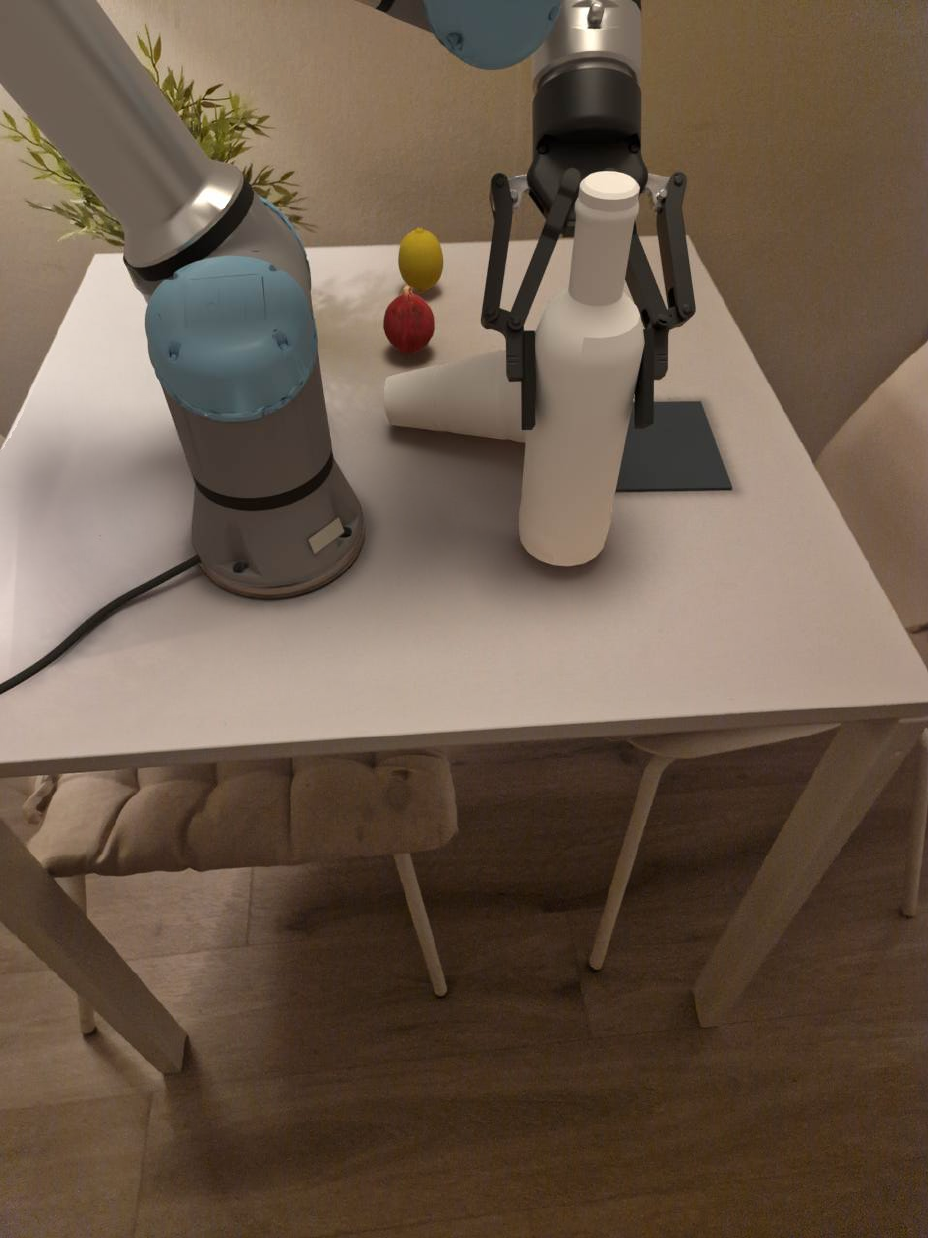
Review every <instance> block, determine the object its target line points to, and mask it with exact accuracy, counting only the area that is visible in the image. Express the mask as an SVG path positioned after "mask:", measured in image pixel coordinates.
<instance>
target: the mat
mask: <svg viewBox="0 0 928 1238" xmlns="http://www.w3.org/2000/svg"><path fill="white" fill-rule="evenodd" d="M634 419H635V401H633V404H632V409H631V414H630V419H629V425H628V430H627V435H626V440H625V445H624V450H623V455H622V460H621V465H620V470H619V475H618V480H617V485H616V490H615V493H616V492H617V493H619V492H622V493H623V492H674V491H675V492H676V491H677V492H678V491H680V492H681V491H727V490H728V491H732V490H733V485H732V482H731V480H730V477H729V474H728V472H727V469H726V466H725V463H724V460H723V457H722V455H721V452H720V449H719V446H718V444H717V441H716V439H715V436H714V433H713V430H712V427H711V425H710V422H709V420H708V417H707V414H706V410H705V408H704V406H703V403H702V401H701V400H683V401H681V400H680V401H679V400H678V401H677V400H676V401H674V400H673V401H654V424H652V425H650V426H648V427H646V428H645V429H634Z"/></svg>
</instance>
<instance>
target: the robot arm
mask: <svg viewBox="0 0 928 1238" xmlns="http://www.w3.org/2000/svg"><path fill="white" fill-rule="evenodd" d="M355 1H356V2H359V3H361V4H363V5H366V6H368V7H370V8H373V9H374V10H377V11H379V12H382V13H384V14H386V15H387V16H390V17H391V18H393V19H396V20H399V21H401V22H404V23H406V24H409V25H411V26H414V27H416V28H418V29H421V30H423V31H425V32H428V33H431V34H433V35H434V37H435V39H436V40H437V41H438V43H439V44H440V45H441V46H443V47H444V48H445V49H446V50H447V51H448V52H449V53H450V54H451V55H453V56H455V57H456V58H457V59H458V60H460V61H461V62H463V63H465V64H466V65H468V66H470V67H473V68H475V69H479V70H485V71H497V70H498V71H500V70H505V69H508V68H511V67H514V66H516V65H519V64H520V63H522V62H523V61H525V60H526V59H528V58H530V57H531V89H532V93H533V96H534V97H533V99H532V104H531V107H532V109H531V112H532V113H531V114H532V115H531V116H532V117H531V118H532V119H531V121H532V122H531V123H532V124H531V125H532V126H531V127H532V131H531V133H532V161H531V163H530V166H529V168H528V169H527V172H526V173H524V174H519V175H514V176H510V177H508V176H507V175H506V174H505V173H502V172H497V173H495V174H494V175H492V177H491V178H490V179H491V180H490V188H489V198H488V199H489V203H490V209H491V214H492V218H493V227H492V228H493V229H492V236H491V241H490V242H491V243H490V250H489V257H488V263H487V271H486V279H485V286H484V292H483V294H484V295H483V299H482V308H481V312H480V313H481V315H480V325H481V326H482V328H484V329H485V330H492V331H495V332H498V333H500V334H502V335H503V337H504V339H505V350H506V376H507V379H508V381H509V382H521V426H522V430H532V429H533V428H534V426H535V332H536V329H535V330H534V329H532V330H530V329H529V330H527V329H525V324H526V322H527V320H528V317H529V314H530V312H531V309H532V306H533V304H534V301H535V299H536V297H537V293H538V291H539V289H540V286H541V283H542V282H543V279H544V276H545V274H546V271H547V269H548V266H549V263H550V261H551V258H552V256H553V253H554V251H555V248H556V245H557V243H558V241H559V239H560V237H561V236H562V238H574V233H575V224H576V212H575V202H576V200H577V198H578V196H579V187H580V183H581V181H582V180H583V179H585V178H586V177H587V176H589V175H590V174H593V173H596V172H603V171H612V172H619V173H623V174H626V175H629V176H630V177H632V178H633V179H634V180H635V181H636V182H637V183H638V185H639V187H640V190H639V196H638V198H640V196H641V195H642V194H644V195H646V197H647V198H648V202H649V208H650V209H651V210H652V212H655V213H656V218H655V219H656V221H655V222H656V223H655V224H656V233H657V242H658V249H659V255H660V262H661V269H662V276H663V277H662V278H663V284H664V292H665V297H666V303H665V300H664V298H663V295H662V293H661V290H660V287H659V285H658V282H657V280H656V277H655V274H654V272H653V270H652V267H651V265H650V262H649V260H648V258H647V257H648V256H647V254H646V252H645V250H644V247H643V244H642V242H641V239H640V237H639V234H638V229H637V222H636V220H635V221H634V227H633V233H632V239H631V245H630V251H629V257H628V263H627V269H626V275H625V281H624V282H625V284H626V286H627V289H628V290H629V294H630V296H631V298H632V299H631V300H632V302H633V303H634V304H635V305H636V306H637V308H638V311H639V313H640V317H641V322H642V327H643V334H644V342H645V344H644V348H643V353H642V358H641V363H640V369H639V374H638V379H637V384H636V389H635V394H634V402H635V419H634V429H645V428H646V427H648V426H650V425H652V424H654V402H655V381H661V380H662V379H663V378H665V377H666V375H667V373H668V370H669V333H670V331H671V330H673V329H676V328H680V327H683V326H684V325H685V324H686V323H688V321H689V320H690V319H692V318H693V316H694V315H695V314H696V311H697V306H696V300H695V291H694V285H693V278H692V272H691V271H692V270H691V263H690V262H691V261H690V256H689V249H688V242H687V241H688V240H687V235H686V233H687V232H686V227H685V220H684V213H683V204H684V198H685V194H686V189H687V183H688V178H687V176H686V174H685V173H684V172H683V171H675V172H673V173H672V174H671V175H670V176H664V175H660V174H655V173H650V172H649V170H648V168H647V165H646V164H645V162H644V159H643V155H642V89H641V87H640V84H641V80H642V0H355ZM0 85H1V86H2V87H3V90H5V91H6V93H8V95H9V96H10V97H11V98H12V100H13V101H14V102H15V103H16V104H17V105H18V106H19V108H20V109H21V110H22V111H23V112H24V113H25V114H26V116H27V117H28V118H29V120H30V121H31V122H32V123H33V124H34V125H35V126H36V127H37V129H38V130H39V131H40V132H41V133H42V134H43V136H44V137H45V138H46V139H47V140H48V142H49V143H50V144H51V145H52V146H53V148H55V150H56V151H57V152H58V153H59V154H60V155H61V157H62V158H63V159H64V160H65V161H66V162H67V164H68V165H69V166H70V168H72V169H73V171H74V172H75V173H76V175H78V177H79V178H80V179H81V180H82V181H83V182H84V183H85V184H86V186H87V187H88V189H90V191H91V192H92V194H94V195H95V196H96V198H97V199H99V201H100V202H101V204H103V206H104V207H105V208H106V209H107V210H108V212H109V213H110V214H111V216H112V217H113V218H114V219H115V220H116V221H117V222H118V224H120V226H121V227H122V231H123V234H124V238H123V239H124V241H123V242H124V243H123V256H124V260H125V261H126V263H128V265H130V266H131V268H132V269H133V270H134V272H135V273H137V274H138V276H139V277H140V278H141V279H142V280H143V281H144V283H145V284H146V285H147V286H148V288H150V290H151V291H152V292H153V293H152V295H151V296H150V298H149V300H148V302H147V304H146V308H145V314H144V331H145V337H146V341H147V353H148V358H149V362H150V364H151V366H152V368H153V370H154V375H155V377H156V379H157V380H158V382H159V383H160V387H161V389H162V392H163V395H164V398H165V401H166V404H167V407H168V410H169V412H170V415H171V418H172V421H173V424H174V427H175V430H176V434H177V437H178V439H179V442H180V445H181V448H182V450H183V454H184V456H185V459H186V462H187V466H188V469H189V471H190V473H191V477H192V480H193V483H194V493H193V505H192V515H191V516H192V518H191V529H190V531H191V545H192V548H193V550H194V553H195V555H193V556H192V557H190V558H188V559H186V560H184V561H182V562H180V563H179V564H177V565H175V566H174V567H172V568H170V569H167V570H166V571H164V572H162V573H161V574H158V575H157V576H155V577H152V578H151V579H150V580H148V581H146V582H143V583H142V584H139V585H138V586H136V587H134V588H132V589H130V590H129V591H127V592H125V593H123V594H121V595H120V596H117V597H116V598H114V599H113V600H112V601H110V602H109V603H107V604H106V605H104V606H102V607H101V608H100V609H98V610H97V611H95V612H94V613H93V614H92V615H91V616H90V617H88V618H87V619H86V620H85V621H83V622H82V623H81V624H80V625H79V626H78V627H77V628H76V629H75V630H74V631H72V632H71V633H70V634H69V635H68V636H67V637H66V638H65V639H63V641H61V642H60V643H59V644H58V645H56V646H55V647H54V648H53V649H52V650H50V651H49V652H48V653H47V654H46V655H44V656H43V657H42V658H40V659H38V661H36V662H34V663H33V664H31V665H30V666H28V667H27V668H25V669H24V670H22V671H20V672H19V673H17V674H15V675H14V676H12V677H10V678H9V679H7V680H4V681H3V682H1V683H0V696H1V695H3V694H5V693H6V692H9V691H10V690H12V689H14V688H16V687H18V686H19V685H20V684H23V683H24V682H25V681H28V680H29V679H30V678H32V677H33V676H35V675H37V674H38V673H39V672H41V671H42V670H45V669H46V668H47V667H49V666H50V665H51V664H52V663H53V662H55V661H56V660H57V659H59V658H60V657H61V656H62V655H64V654H65V653H67V651H68V650H69V649H71V648H72V647H73V646H74V645H75V644H76V643H77V642H78V641H79V640H81V638H83V637H84V636H85V635H86V634H87V633H88V632H89V631H90V630H91V629H93V627H95V626H96V625H97V624H99V622H102V620H104V619H105V618H107V616H109V615H111V614H112V613H113V612H115V611H116V610H118V609H119V608H120V607H122V606H124V605H125V604H127V603H128V602H130V601H133V600H134V599H136V598H138V597H141V595H144V594H146V593H147V592H149V591H151V590H153V589H155V588H157V587H159V586H160V585H162V584H164V583H166V582H168V581H170V580H171V579H174V578H175V577H177V576H178V575H181V574H182V573H184V572H186V571H189V569H192V568H193V567H195V566H198V565H200V567H201V570H202V571H203V572H204V574H205V575H206V576H207V577H208V578H209V579H210V580H211V581H212V582H213V583H215V584H217V586H219V587H221V588H222V589H225V590H227V591H229V592H231V593H233V594H237V595H239V596H244V597H249V598H256V599H283V598H289V597H294V596H298V595H303V594H306V593H309V592H311V591H314V590H317V589H319V588H321V587H323V586H325V585H327V584H328V583H330V582H332V581H333V580H335V579H336V578H338V577H339V576H340V575H341V574H343V573H344V572H345V571H346V570H347V569H348V568H349V567H351V565H352V564H353V562H355V560H356V559H357V557H358V555H359V553H360V551H361V549H362V546H363V544H364V539H365V523H364V521H365V520H364V516H363V515H364V514H363V508H362V506H361V502H360V501H359V498H358V496H357V495H356V492H355V491H354V489H353V488H352V486H351V484H350V483H349V481H348V479H347V477H346V476H345V474H344V472H343V471H342V469H341V468H340V466H339V464H338V463H337V461H336V459H335V457H334V453H333V445H332V437H331V430H330V425H329V419H328V412H327V405H326V399H325V392H324V386H323V377H322V372H321V371H322V370H321V363H320V357H319V337H318V328H317V323H316V319H315V315H314V307H313V298H312V272H311V267H310V262H309V260H308V258H307V257H308V254H307V251H306V249H305V246H304V244H303V242H302V239H301V238H300V236H299V234H298V232H297V231H296V229H295V227H294V225H293V224H292V223H291V221H290V220H289V219H288V217H287V216H286V215H285V214H284V213H283V212H282V211H281V210H280V209H279V208H278V207H277V206H276V205H274V204H273V203H272V202H270V201H269V200H268V199H266V198H264V197H262V196H260V195H258V193H257V191H256V190H255V189H254V188H253V186H252V185H251V183H250V182H249V180H248V179H247V177H246V175H245V174H244V173H243V172H242V170H241V169H240V168H239V167H238V166H237V165H235V164H233V163H228V162H224V161H220V160H215V159H212V158H210V157H208V155H207V154H206V153H205V151H204V149H203V148H202V146H200V144H199V142H198V141H197V139H196V138H195V137H194V135H193V134H192V133H191V131H190V129H188V127H187V125H186V124H185V123H184V121H183V120H182V118H181V117H180V115H179V114H178V113H177V112H176V110H175V109H174V107H173V106H172V104H171V102H169V100H168V99H167V97H166V95H164V93H163V92H162V91H161V89H160V88H159V86H158V85H157V84H156V82H155V80H154V79H153V77H152V76H151V75H150V74H149V72H148V71H147V69H146V68H145V67H144V65H143V63H142V62H141V61H140V60H139V58H138V56H137V55H136V54H135V53H134V51H133V49H132V48H131V47H130V45H129V44H128V43H127V41H126V39H125V38H124V37H123V35H122V34H121V32H120V31H119V29H118V28H117V27H116V26H115V24H114V23H113V22H112V20H111V19H110V17H109V16H108V15H107V12H106V11H105V10H104V8H103V7H102V6H101V4H100V3H99V1H98V0H0ZM526 195H528V196H529V197H530V199H531V200H532V202H533V203H534V205H535V206H536V207H537V209H538V210H539V212H540V213H541V215H542V216H543V217H544V219H545V222H544V224H543V228H542V231H541V233H540V235H539V238H538V240H537V243H536V246H535V248H534V250H533V252H532V255H531V259H530V261H529V264H528V266H527V268H526V271H525V273H524V275H523V279H522V282H521V284H520V286H519V289H518V292H517V293H516V297H515V299H514V302H513V304H512V307H511V310H510V311H509V310H506V309H504V308H501V302H502V295H503V294H502V293H503V287H504V280H505V272H506V266H507V257H508V252H509V245H510V237H511V230H512V224H513V216H514V215H513V214H516V213H518V211H519V210H520V208H521V205H522V199H523V198H524V197H525V196H526Z"/></svg>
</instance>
